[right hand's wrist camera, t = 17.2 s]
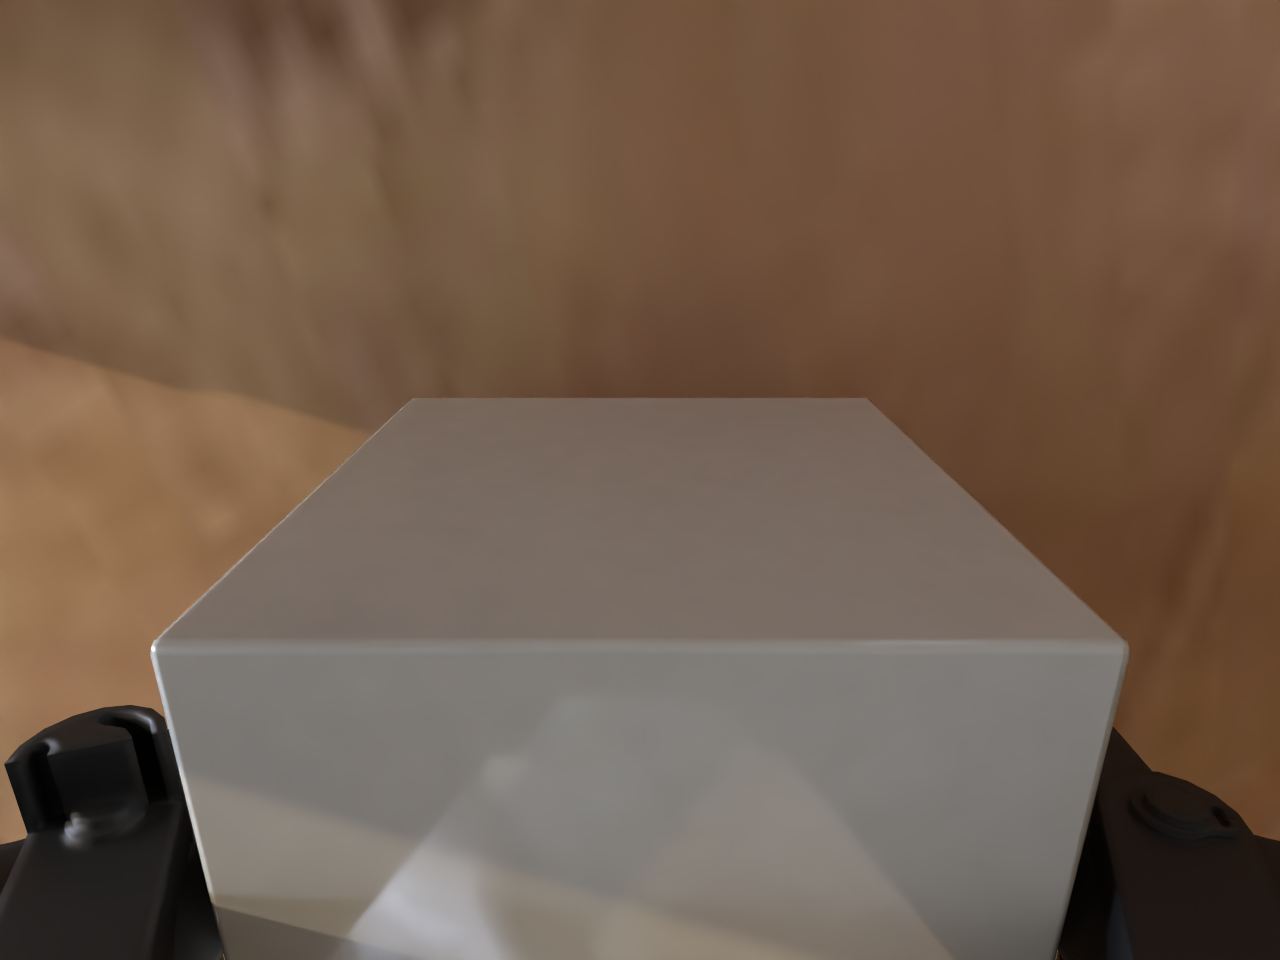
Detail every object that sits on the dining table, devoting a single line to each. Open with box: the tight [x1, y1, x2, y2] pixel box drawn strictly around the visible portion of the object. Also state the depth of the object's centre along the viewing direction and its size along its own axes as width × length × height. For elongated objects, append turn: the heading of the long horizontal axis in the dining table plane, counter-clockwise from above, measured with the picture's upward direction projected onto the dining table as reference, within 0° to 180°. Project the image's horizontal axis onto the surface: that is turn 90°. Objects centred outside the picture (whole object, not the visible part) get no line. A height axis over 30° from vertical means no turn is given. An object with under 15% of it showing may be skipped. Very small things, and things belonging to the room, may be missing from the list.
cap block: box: [150, 398, 1130, 960], centre depth 10 cm, size 7×7×7 cm
